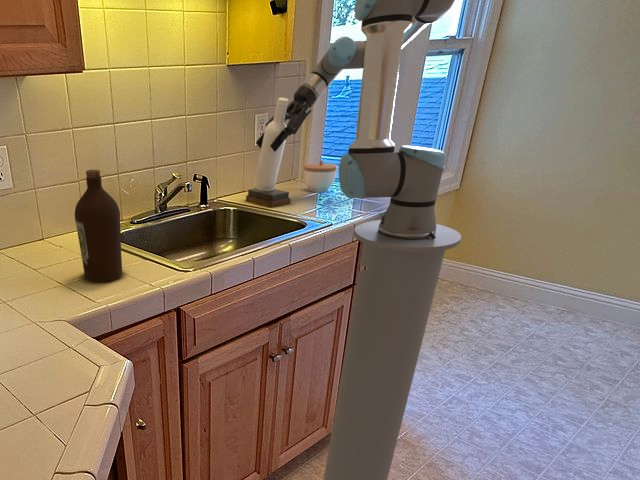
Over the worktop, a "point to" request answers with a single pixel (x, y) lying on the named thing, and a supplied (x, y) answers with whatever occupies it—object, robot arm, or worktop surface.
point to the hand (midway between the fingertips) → (265, 147)
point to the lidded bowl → (319, 176)
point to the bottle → (271, 150)
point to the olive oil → (99, 231)
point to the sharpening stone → (268, 197)
